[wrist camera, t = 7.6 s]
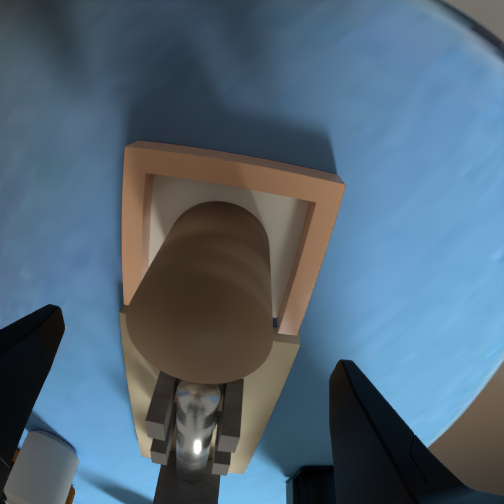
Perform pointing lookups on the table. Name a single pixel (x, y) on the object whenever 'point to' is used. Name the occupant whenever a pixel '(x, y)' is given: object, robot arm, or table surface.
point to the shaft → (191, 449)
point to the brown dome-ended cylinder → (206, 297)
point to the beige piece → (229, 409)
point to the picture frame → (237, 192)
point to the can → (41, 471)
